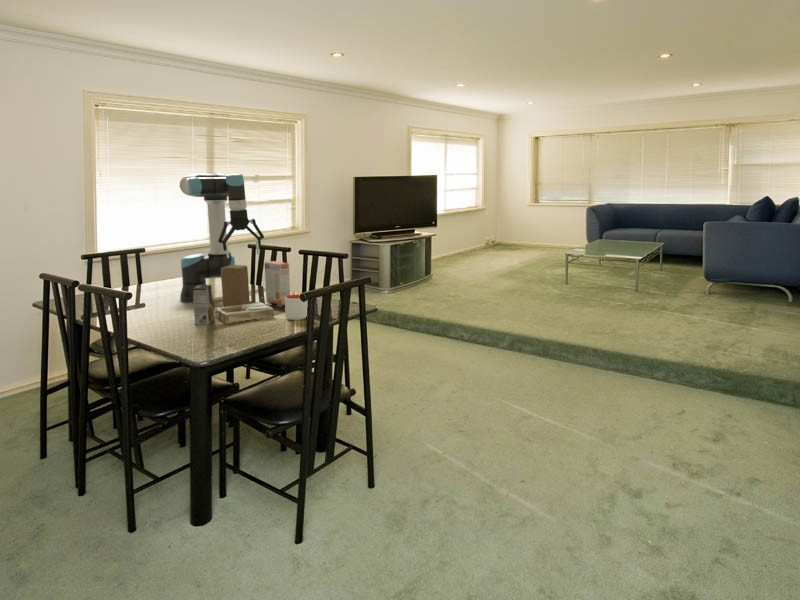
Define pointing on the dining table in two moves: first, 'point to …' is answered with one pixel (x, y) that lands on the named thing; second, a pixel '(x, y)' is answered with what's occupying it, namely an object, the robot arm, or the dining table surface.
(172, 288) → the dining table surface
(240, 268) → the wooden block
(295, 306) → the cup
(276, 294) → the cracker box
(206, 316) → the coffee box
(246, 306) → the hole board
